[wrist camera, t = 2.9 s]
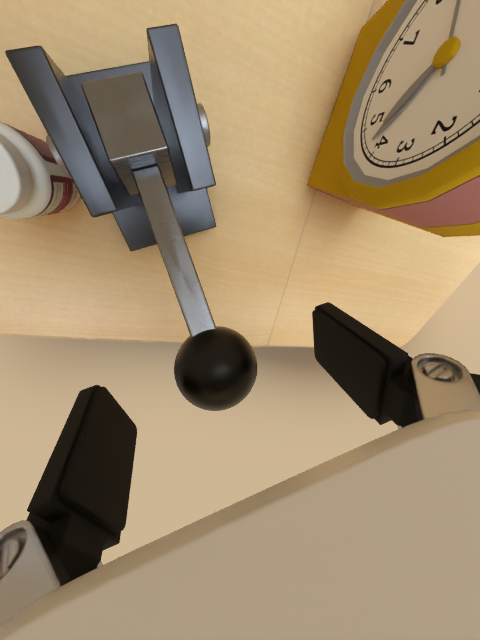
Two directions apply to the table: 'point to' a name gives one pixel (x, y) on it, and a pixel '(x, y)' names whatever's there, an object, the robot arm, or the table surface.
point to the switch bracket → (86, 146)
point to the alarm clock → (410, 119)
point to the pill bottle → (31, 178)
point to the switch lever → (170, 240)
